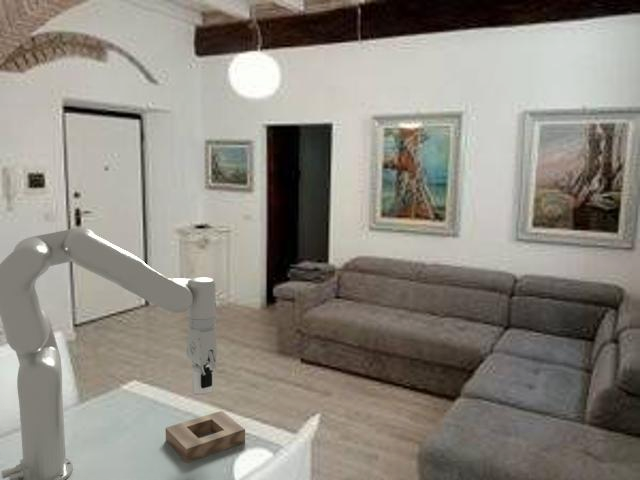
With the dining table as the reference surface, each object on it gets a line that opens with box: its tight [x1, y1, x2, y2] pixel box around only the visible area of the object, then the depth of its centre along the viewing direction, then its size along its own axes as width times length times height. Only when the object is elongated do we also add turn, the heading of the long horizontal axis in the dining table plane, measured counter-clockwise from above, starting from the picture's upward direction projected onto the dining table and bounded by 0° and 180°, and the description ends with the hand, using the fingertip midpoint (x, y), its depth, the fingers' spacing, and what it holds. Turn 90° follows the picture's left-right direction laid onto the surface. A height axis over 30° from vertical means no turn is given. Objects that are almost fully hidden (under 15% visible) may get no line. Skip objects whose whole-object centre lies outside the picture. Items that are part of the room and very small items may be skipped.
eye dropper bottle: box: [191, 361, 214, 396], centre depth 149 cm, size 4×6×12 cm
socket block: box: [165, 410, 246, 464], centre depth 151 cm, size 18×14×4 cm
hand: (202, 383), depth 149 cm, fingers closed on eye dropper bottle, 3 cm apart
